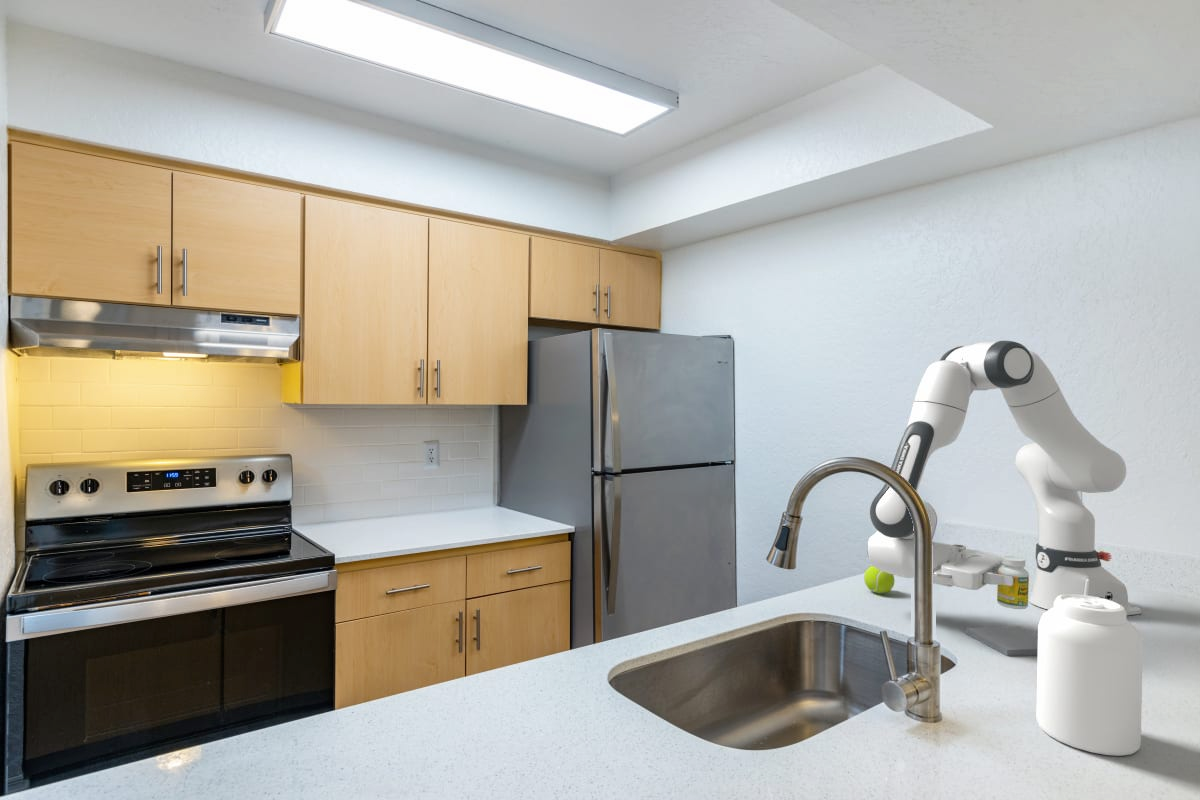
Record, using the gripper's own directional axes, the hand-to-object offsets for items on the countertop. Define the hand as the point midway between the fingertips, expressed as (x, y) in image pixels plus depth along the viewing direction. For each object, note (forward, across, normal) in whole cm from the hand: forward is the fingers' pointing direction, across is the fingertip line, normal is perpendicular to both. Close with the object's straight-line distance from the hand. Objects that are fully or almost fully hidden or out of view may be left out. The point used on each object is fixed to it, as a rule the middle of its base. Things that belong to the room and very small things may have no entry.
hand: (1018, 578), depth 135 cm
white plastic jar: (+17, -34, +14) cm, 40 cm away
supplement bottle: (-1, 0, +6) cm, 6 cm away
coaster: (-1, 0, +13) cm, 13 cm away
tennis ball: (-34, +15, +14) cm, 39 cm away
